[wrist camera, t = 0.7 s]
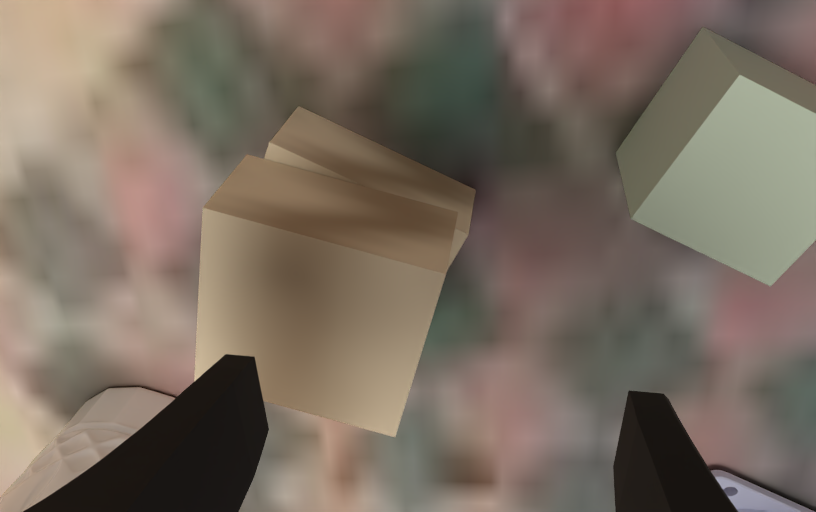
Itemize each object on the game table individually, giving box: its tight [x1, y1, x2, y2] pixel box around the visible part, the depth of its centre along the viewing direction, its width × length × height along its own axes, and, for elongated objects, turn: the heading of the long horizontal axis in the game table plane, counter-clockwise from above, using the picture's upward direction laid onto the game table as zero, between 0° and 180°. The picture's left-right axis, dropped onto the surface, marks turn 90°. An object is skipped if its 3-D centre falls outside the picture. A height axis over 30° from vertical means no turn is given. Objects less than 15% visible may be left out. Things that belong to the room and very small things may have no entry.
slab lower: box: [264, 106, 476, 270], centre depth 22 cm, size 6×6×3 cm
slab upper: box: [194, 155, 458, 437], centre depth 19 cm, size 6×6×3 cm
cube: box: [616, 27, 816, 286], centre depth 17 cm, size 4×4×4 cm
